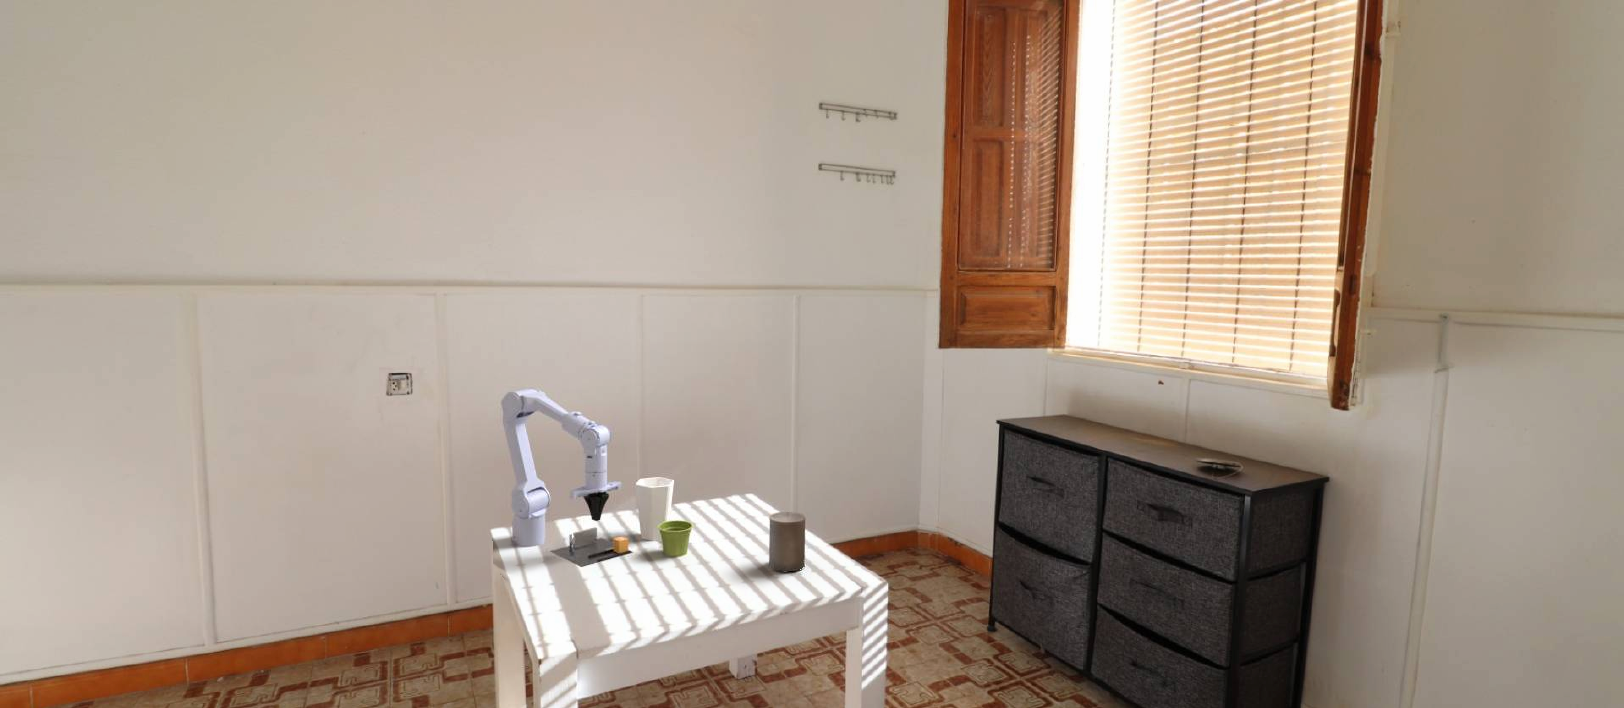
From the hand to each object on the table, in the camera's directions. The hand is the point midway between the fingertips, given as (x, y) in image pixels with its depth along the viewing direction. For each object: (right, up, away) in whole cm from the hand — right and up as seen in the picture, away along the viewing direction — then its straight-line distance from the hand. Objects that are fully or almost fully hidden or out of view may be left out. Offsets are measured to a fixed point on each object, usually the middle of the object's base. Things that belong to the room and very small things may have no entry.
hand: (595, 519), depth 214 cm
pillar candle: (+51, -12, -2) cm, 53 cm away
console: (-2, -10, +2) cm, 11 cm away
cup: (+13, -9, +16) cm, 23 cm away
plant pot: (+21, -11, +3) cm, 24 cm away
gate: (-5, -8, +7) cm, 12 cm away
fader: (+6, -9, +3) cm, 11 cm away
